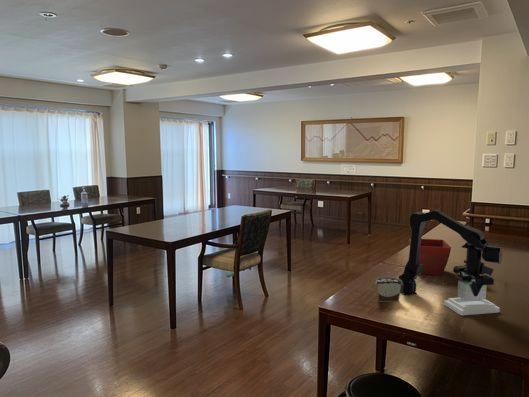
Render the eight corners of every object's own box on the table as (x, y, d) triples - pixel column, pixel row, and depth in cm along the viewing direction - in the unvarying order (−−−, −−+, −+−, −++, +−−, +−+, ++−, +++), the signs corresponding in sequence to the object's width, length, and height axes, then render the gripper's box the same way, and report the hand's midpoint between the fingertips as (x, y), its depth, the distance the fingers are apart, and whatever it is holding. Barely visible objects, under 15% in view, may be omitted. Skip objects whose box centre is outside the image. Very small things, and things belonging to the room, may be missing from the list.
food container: (397, 296, 188) (397, 276, 186) (401, 301, 182) (402, 280, 180) (371, 296, 187) (371, 276, 186) (375, 301, 181) (375, 280, 180)
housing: (485, 298, 171) (486, 283, 170) (464, 300, 169) (465, 284, 168) (477, 294, 176) (478, 279, 175) (457, 296, 174) (458, 280, 173)
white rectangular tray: (461, 315, 166) (461, 308, 165) (443, 304, 177) (444, 297, 177) (499, 312, 169) (500, 305, 168) (479, 301, 180) (480, 295, 180)
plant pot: (450, 277, 215) (451, 247, 213) (413, 275, 218) (414, 245, 216) (441, 267, 233) (443, 239, 231) (407, 265, 237) (408, 238, 235)
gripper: (506, 264, 162) (504, 300, 164) (475, 252, 181) (473, 285, 183) (482, 265, 161) (480, 302, 163) (453, 253, 179) (451, 287, 181)
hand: (471, 294), depth 172 cm, fingers closed on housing, 5 cm apart
